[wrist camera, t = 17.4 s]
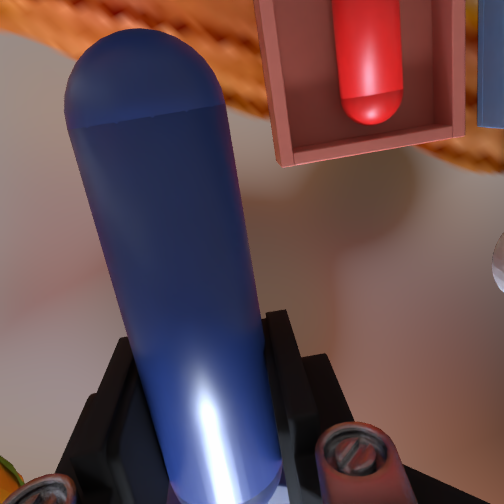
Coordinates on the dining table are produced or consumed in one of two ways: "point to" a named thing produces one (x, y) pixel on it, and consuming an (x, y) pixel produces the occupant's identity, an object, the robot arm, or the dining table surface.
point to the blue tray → (490, 64)
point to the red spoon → (368, 58)
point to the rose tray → (327, 84)
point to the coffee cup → (499, 263)
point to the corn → (8, 479)
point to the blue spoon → (179, 260)
